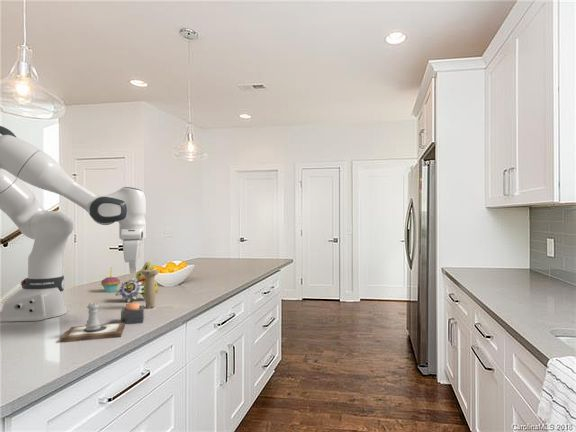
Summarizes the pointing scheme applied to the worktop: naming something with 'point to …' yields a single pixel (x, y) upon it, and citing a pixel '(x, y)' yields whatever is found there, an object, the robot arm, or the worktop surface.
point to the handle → (150, 287)
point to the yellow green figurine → (143, 278)
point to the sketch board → (93, 332)
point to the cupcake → (110, 283)
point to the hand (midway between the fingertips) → (132, 272)
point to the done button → (132, 306)
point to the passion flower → (131, 290)
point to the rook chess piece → (93, 318)
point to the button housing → (132, 315)
